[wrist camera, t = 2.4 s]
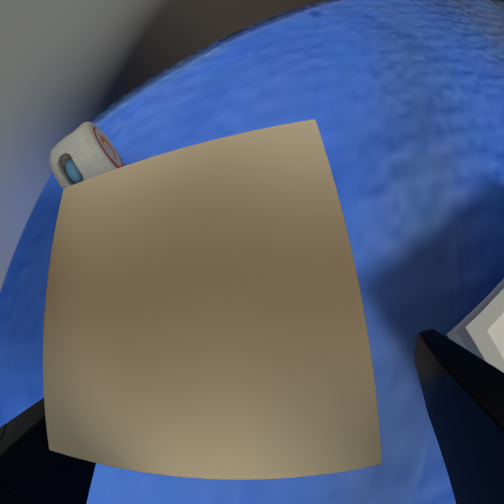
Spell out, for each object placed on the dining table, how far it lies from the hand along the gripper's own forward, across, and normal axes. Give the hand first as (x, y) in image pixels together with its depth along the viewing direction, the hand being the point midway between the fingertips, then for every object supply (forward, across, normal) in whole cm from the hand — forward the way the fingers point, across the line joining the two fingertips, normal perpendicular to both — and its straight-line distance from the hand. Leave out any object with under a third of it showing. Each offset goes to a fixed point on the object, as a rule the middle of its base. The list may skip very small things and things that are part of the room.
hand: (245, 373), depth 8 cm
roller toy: (+17, +12, -4) cm, 22 cm away
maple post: (+7, 0, +6) cm, 9 cm away
